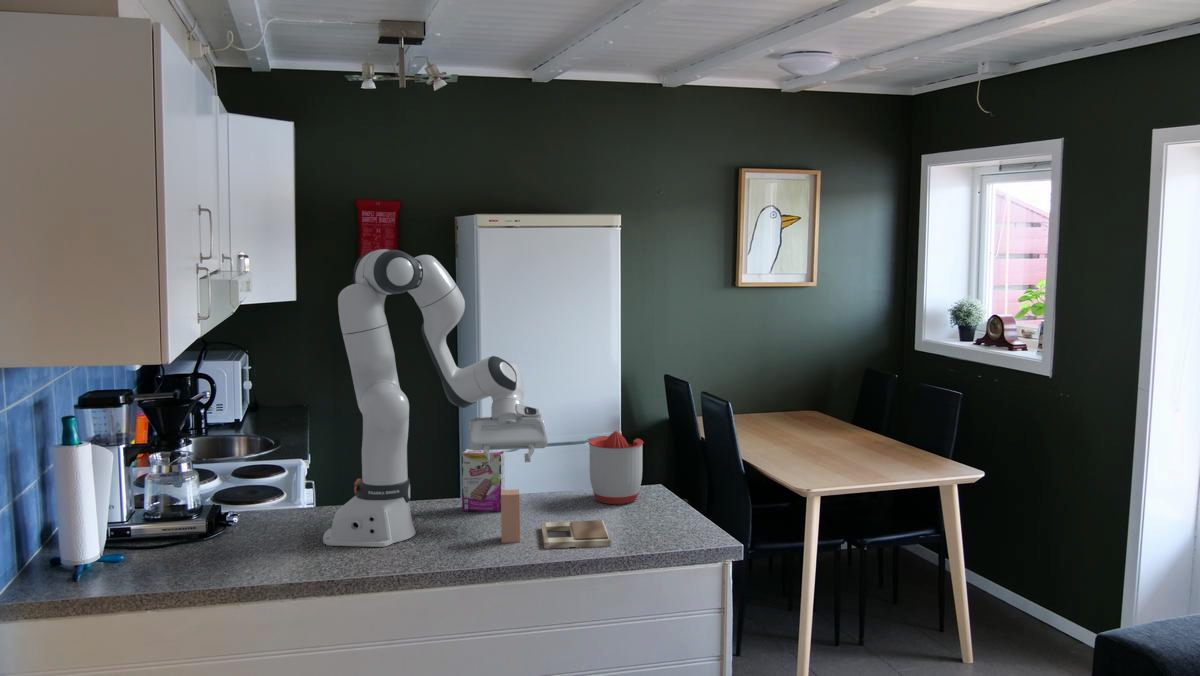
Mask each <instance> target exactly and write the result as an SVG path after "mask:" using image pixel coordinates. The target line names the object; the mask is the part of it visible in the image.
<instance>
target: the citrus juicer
mask: <svg viewBox="0 0 1200 676" xmlns="http://www.w3.org/2000/svg"><path fill="white" fill-rule="evenodd" d="M643 444H644V441H643V440H642V439H641V438H638V437H637V438H635V439H634V440H633V441H632V444H629V443H628V441H627V440H626V438H625V437H624V436H623V434H622V433H620V432H619V431H617V430H615V431H612V433H611V434H610V435H605V436H598V437H594V438H590V440H589V441H588V445H589V479H590V485H591V488H592V493H593V495H594V498H595V500H597V502H600V503H604V504H610V505H617V504H622V505H625V504H630V503H632V502H635V501H636V500H637V498H638V496H639V493H640V489H641V484H642V480H643Z"/></svg>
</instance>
